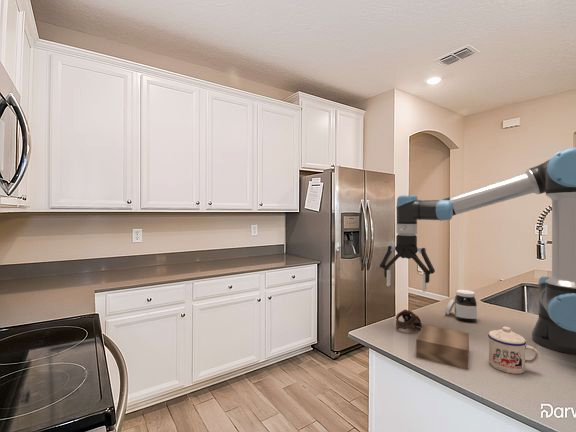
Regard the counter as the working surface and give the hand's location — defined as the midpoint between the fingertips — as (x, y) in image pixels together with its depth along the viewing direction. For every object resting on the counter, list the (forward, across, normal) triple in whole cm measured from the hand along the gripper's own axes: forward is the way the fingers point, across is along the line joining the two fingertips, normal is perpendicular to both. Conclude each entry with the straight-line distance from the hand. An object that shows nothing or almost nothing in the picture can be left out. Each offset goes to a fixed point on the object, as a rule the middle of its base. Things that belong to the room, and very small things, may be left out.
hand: (405, 288), depth 117 cm
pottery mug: (+16, +1, 0) cm, 16 cm away
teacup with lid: (+16, +33, -13) cm, 39 cm away
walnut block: (+16, +15, -15) cm, 27 cm away
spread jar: (+16, +16, +25) cm, 34 cm away
